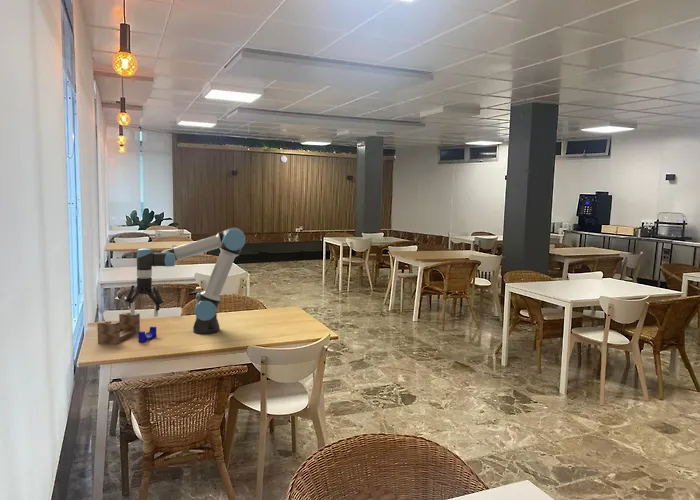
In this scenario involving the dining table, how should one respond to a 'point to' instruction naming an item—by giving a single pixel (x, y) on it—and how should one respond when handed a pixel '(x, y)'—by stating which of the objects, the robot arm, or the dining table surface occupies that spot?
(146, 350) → the dining table surface
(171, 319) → the dining table surface
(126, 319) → the wooden crate
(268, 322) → the dining table surface
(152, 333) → the cable clip
